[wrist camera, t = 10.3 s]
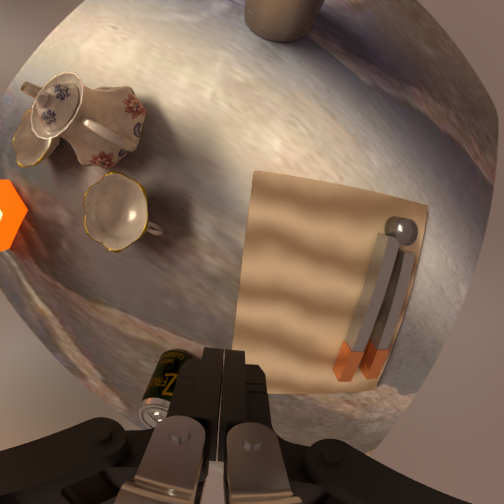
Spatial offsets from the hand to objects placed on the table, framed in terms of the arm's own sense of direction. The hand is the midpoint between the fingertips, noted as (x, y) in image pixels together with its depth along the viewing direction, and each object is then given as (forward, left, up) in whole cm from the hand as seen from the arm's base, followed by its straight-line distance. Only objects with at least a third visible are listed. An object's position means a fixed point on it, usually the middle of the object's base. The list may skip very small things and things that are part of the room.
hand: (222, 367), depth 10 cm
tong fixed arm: (+7, +21, -22) cm, 32 cm away
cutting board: (+6, +13, -24) cm, 28 cm away
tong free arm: (+5, +18, -22) cm, 29 cm away
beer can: (+18, -6, -24) cm, 31 cm away
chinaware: (-11, -19, -24) cm, 33 cm away
